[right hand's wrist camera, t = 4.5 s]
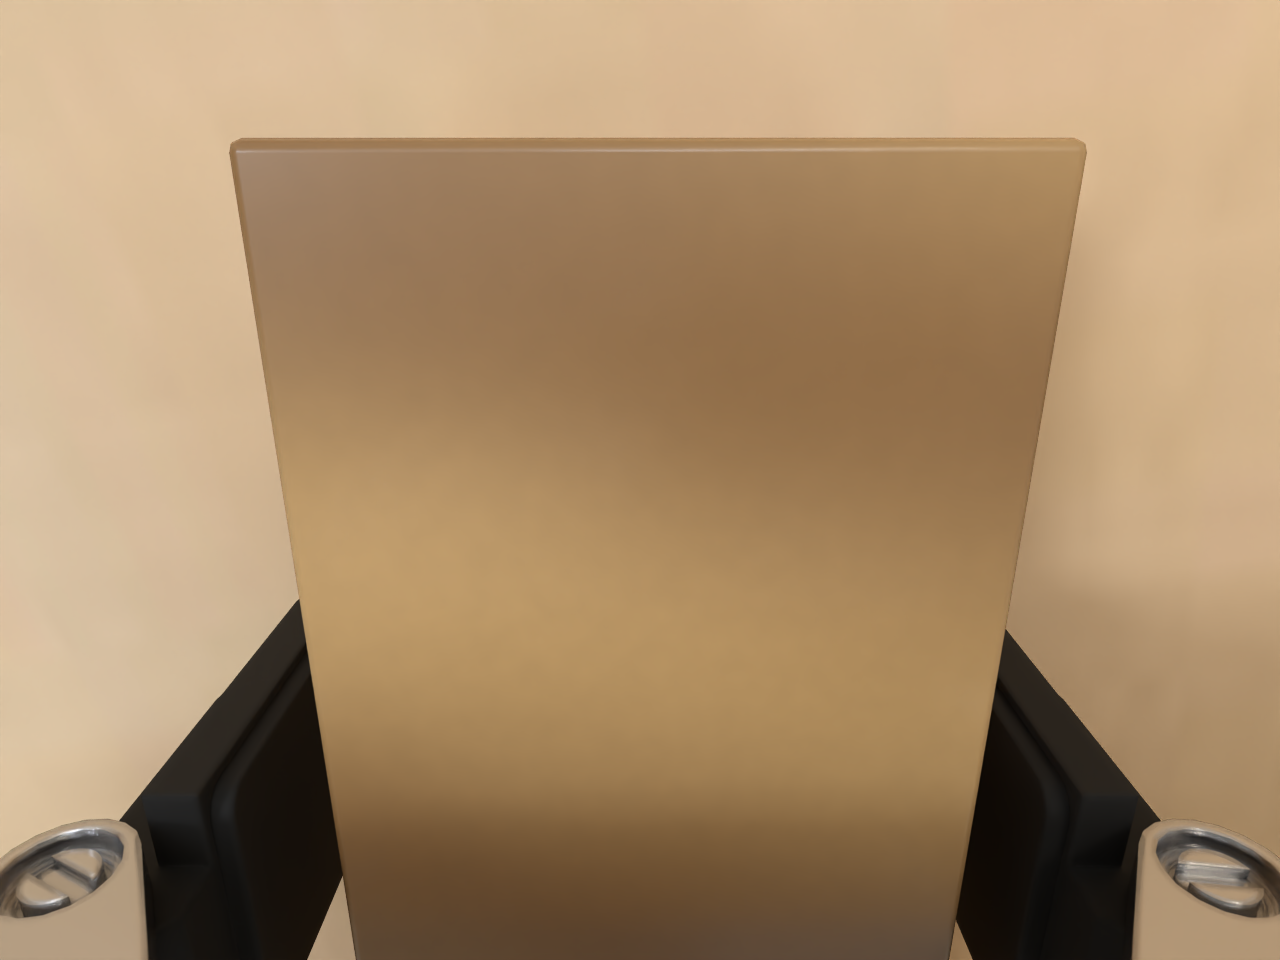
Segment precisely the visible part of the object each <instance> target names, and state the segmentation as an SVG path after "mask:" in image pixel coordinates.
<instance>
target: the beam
mask: <svg viewBox="0 0 1280 960" xmlns="http://www.w3.org/2000/svg"><path fill="white" fill-rule="evenodd" d="M1086 154H1087V152H1086V145H1085V143H1084V142H1082V141H1080V140H1078V139H1075V138H241V139H239V140H236V141H234V142H232V143H231V146H230V160H231V166H232V172H233V179H234V185H235V192H236V198H237V204H238V211H239V217H240V223H241V230H242V236H243V242H244V249H245V255H246V262H247V268H248V274H249V281H250V287H251V293H252V300H253V306H254V313H255V319H256V325H257V332H258V338H259V344H260V351H261V357H262V364H263V370H264V376H265V383H266V389H267V395H268V402H269V408H270V415H271V421H272V427H273V434H274V440H275V446H276V453H277V459H278V465H279V472H280V478H281V485H282V491H283V497H284V504H285V510H286V516H287V523H288V529H289V536H290V542H291V548H292V555H293V561H294V567H295V574H296V580H297V587H298V593H299V599H300V606H301V612H302V618H303V625H304V631H305V637H306V644H307V650H308V657H309V663H310V669H311V676H312V682H313V688H314V695H315V701H316V708H317V714H318V720H319V727H320V733H321V739H322V746H323V752H324V759H325V765H326V771H327V778H328V784H329V790H330V797H331V803H332V810H333V816H334V822H335V829H336V835H337V841H338V848H339V854H340V860H341V867H342V873H343V880H344V886H345V892H346V899H347V905H348V911H349V918H350V924H351V931H352V937H353V943H354V950H355V956H356V960H949V956H950V950H951V944H952V939H953V933H954V927H955V921H956V915H957V909H958V903H959V898H960V892H961V886H962V880H963V874H964V868H965V862H966V857H967V851H968V845H969V839H970V833H971V827H972V821H973V816H974V810H975V804H976V798H977V792H978V786H979V780H980V775H981V769H982V763H983V757H984V751H985V745H986V739H987V734H988V728H989V722H990V716H991V710H992V704H993V698H994V693H995V687H996V681H997V675H998V669H999V663H1000V657H1001V652H1002V646H1003V640H1004V634H1005V628H1006V622H1007V616H1008V611H1009V605H1010V599H1011V593H1012V587H1013V581H1014V575H1015V570H1016V564H1017V558H1018V552H1019V546H1020V540H1021V534H1022V529H1023V523H1024V517H1025V511H1026V505H1027V499H1028V493H1029V488H1030V482H1031V476H1032V470H1033V464H1034V458H1035V452H1036V446H1037V441H1038V435H1039V429H1040V423H1041V417H1042V411H1043V405H1044V400H1045V394H1046V388H1047V382H1048V376H1049V370H1050V364H1051V359H1052V353H1053V347H1054V341H1055V335H1056V329H1057V323H1058V318H1059V312H1060V306H1061V300H1062V294H1063V288H1064V282H1065V277H1066V271H1067V265H1068V259H1069V253H1070V247H1071V241H1072V236H1073V230H1074V224H1075V218H1076V212H1077V206H1078V200H1079V195H1080V189H1081V183H1082V177H1083V171H1084V165H1085V159H1086Z"/></svg>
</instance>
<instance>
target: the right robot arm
mask: <svg viewBox="0 0 1280 960" xmlns="http://www.w3.org/2000/svg"><path fill="white" fill-rule="evenodd" d="M342 876H343V873H342V867H341V860H340V854H339V848H338V841H337V835H336V829H335V822H334V816H333V810H332V803H331V797H330V790H329V784H328V778H327V771H326V765H325V759H324V752H323V746H322V739H321V733H320V727H319V720H318V714H317V708H316V701H315V695H314V688H313V682H312V676H311V669H310V663H309V657H308V650H307V644H306V637H305V631H304V625H303V618H302V612H301V606H300V599H299V600H298V601H296V603H295V604H294V605H293V606H292V608H291V609H290V610H289V611H288V613H287V614H286V615H285V616H284V618H283V619H282V620H281V621H280V623H279V624H278V625H277V626H276V628H275V629H274V630H273V631H272V633H271V634H270V635H269V636H268V638H267V639H266V640H265V641H264V643H263V644H262V645H261V646H260V648H259V649H258V650H257V651H256V653H255V654H254V655H253V656H252V658H251V659H250V660H249V661H248V663H247V664H246V665H245V666H244V668H243V669H242V670H241V671H240V673H239V674H238V675H237V676H236V678H235V679H234V680H233V682H232V683H231V684H230V685H229V687H228V688H227V689H226V690H225V692H224V693H223V694H222V695H221V696H220V697H219V698H218V699H217V700H216V701H215V702H214V703H213V705H212V706H211V707H210V708H209V710H208V711H207V712H206V713H205V715H204V716H203V717H202V718H201V719H200V721H199V722H198V723H197V724H196V726H195V727H194V728H193V729H192V731H191V732H190V733H189V734H188V736H187V737H186V738H185V739H184V741H183V742H182V743H181V744H180V746H179V747H178V748H177V749H176V751H175V752H174V753H173V754H172V756H171V757H170V758H169V759H168V761H167V762H166V763H165V764H164V766H163V767H162V768H161V769H160V771H159V772H158V773H157V774H156V776H155V777H154V778H153V779H152V781H151V782H150V783H149V784H148V786H147V787H146V788H145V789H144V791H143V792H142V793H141V794H140V796H139V797H138V798H137V799H136V800H135V802H134V803H133V804H132V805H131V807H130V808H129V809H128V810H127V812H126V813H125V814H124V815H123V817H122V818H121V819H120V820H119V821H115V820H111V819H94V820H83V821H79V822H75V823H70V824H66V825H62V826H59V827H57V828H54V829H52V830H49V831H46V832H44V833H41V834H39V835H36V836H34V837H33V838H31V839H29V840H27V841H26V842H24V843H22V844H20V845H19V846H17V847H15V848H13V849H12V850H10V851H9V852H8V853H7V854H5V855H4V856H3V857H2V858H0V960H307V959H308V956H309V954H310V952H311V949H312V947H313V945H314V942H315V940H316V937H317V935H318V933H319V930H320V928H321V926H322V923H323V921H324V919H325V916H326V914H327V911H328V909H329V907H330V904H331V902H332V900H333V897H334V895H335V893H336V890H337V888H338V885H339V883H340V881H341V878H342ZM956 921H957V923H958V926H959V928H960V930H961V933H962V935H963V938H964V940H965V942H966V945H967V947H968V949H969V952H970V954H971V956H972V959H973V960H1280V858H1278V857H1277V856H1276V855H1275V854H1273V853H1272V852H1271V851H1270V850H1268V849H1267V848H1265V847H1263V846H1261V845H1260V844H1258V843H1256V842H1254V841H1253V840H1251V839H1249V838H1247V837H1246V836H1244V835H1241V834H1239V833H1236V832H1234V831H1231V830H1228V829H1226V828H1223V827H1221V826H1218V825H1214V824H1210V823H1205V822H1201V821H1197V820H1186V819H1169V820H1165V821H1161V820H1160V819H1159V818H1158V817H1157V815H1156V814H1155V813H1154V812H1153V810H1152V809H1151V808H1150V807H1149V805H1148V804H1147V803H1146V802H1145V801H1144V799H1143V798H1142V797H1141V796H1140V794H1139V793H1138V792H1137V791H1136V789H1135V788H1134V787H1133V786H1132V784H1131V783H1130V782H1129V781H1128V779H1127V778H1126V777H1125V776H1124V774H1123V773H1122V772H1121V771H1120V769H1119V768H1118V767H1117V766H1116V764H1115V763H1114V762H1113V761H1112V759H1111V758H1110V757H1109V756H1108V754H1107V753H1106V752H1105V751H1104V749H1103V748H1102V747H1101V746H1100V744H1099V743H1098V742H1097V741H1096V739H1095V738H1094V737H1093V736H1092V734H1091V733H1090V732H1089V731H1088V729H1087V728H1086V727H1085V726H1084V724H1083V723H1082V722H1081V721H1080V720H1079V718H1078V717H1077V716H1076V715H1075V713H1074V712H1073V711H1072V710H1071V708H1070V707H1069V706H1068V705H1067V703H1066V702H1065V701H1064V700H1063V699H1062V698H1061V697H1060V696H1059V695H1058V694H1057V693H1056V692H1055V690H1054V689H1053V688H1052V687H1051V685H1050V684H1049V683H1048V682H1047V680H1046V679H1045V678H1044V677H1043V675H1042V674H1041V673H1040V672H1039V670H1038V669H1037V668H1036V667H1035V665H1034V664H1033V663H1032V662H1031V660H1030V659H1029V658H1028V657H1027V655H1026V654H1025V653H1024V652H1023V650H1022V649H1021V648H1020V647H1019V645H1018V644H1017V643H1016V641H1015V640H1014V639H1013V638H1012V636H1011V635H1010V634H1009V633H1008V631H1007V630H1006V629H1005V634H1004V640H1003V646H1002V652H1001V657H1000V663H999V669H998V675H997V681H996V687H995V693H994V698H993V704H992V710H991V716H990V722H989V728H988V734H987V739H986V745H985V751H984V757H983V763H982V769H981V775H980V780H979V786H978V792H977V798H976V804H975V810H974V816H973V821H972V827H971V833H970V839H969V845H968V851H967V857H966V862H965V868H964V874H963V880H962V886H961V892H960V898H959V903H958V909H957V915H956Z"/></svg>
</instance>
